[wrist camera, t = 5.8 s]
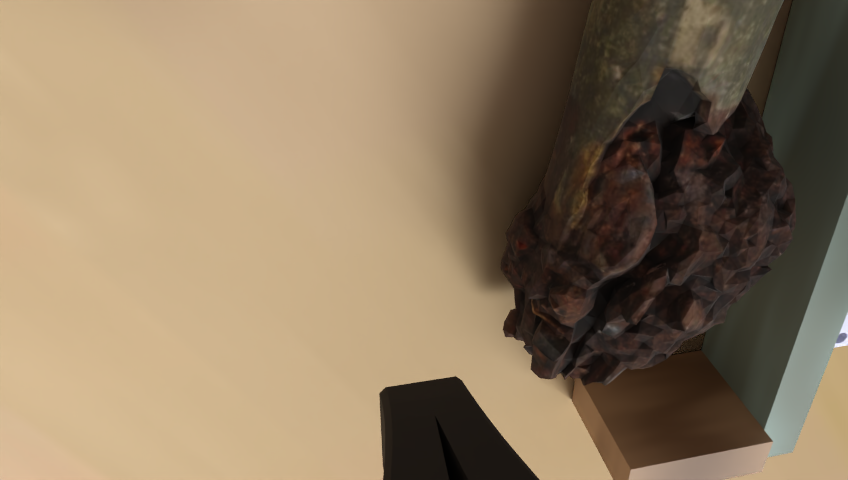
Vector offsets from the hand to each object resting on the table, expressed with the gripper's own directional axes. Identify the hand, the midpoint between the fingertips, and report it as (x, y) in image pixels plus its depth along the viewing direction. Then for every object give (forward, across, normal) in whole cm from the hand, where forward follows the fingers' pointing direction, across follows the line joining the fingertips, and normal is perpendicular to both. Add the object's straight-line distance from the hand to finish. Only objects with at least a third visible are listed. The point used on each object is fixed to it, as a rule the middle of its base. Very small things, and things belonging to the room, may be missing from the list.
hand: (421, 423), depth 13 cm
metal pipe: (+10, -8, -3) cm, 13 cm away
